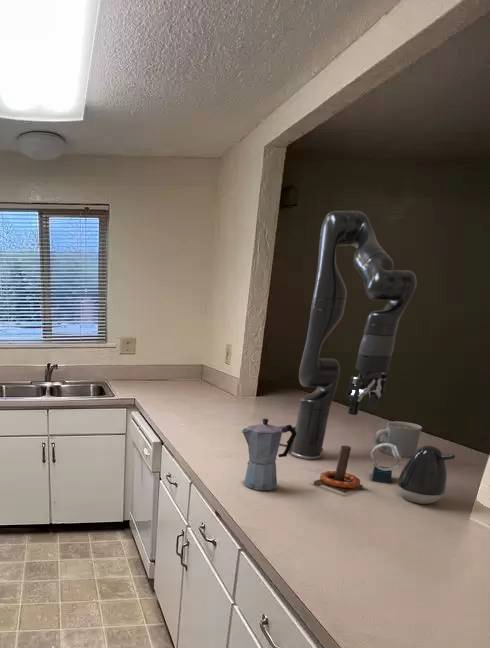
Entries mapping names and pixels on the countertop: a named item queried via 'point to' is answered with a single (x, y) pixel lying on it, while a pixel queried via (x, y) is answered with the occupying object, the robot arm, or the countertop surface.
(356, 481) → the ring
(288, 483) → the countertop surface
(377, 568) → the countertop surface
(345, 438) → the countertop surface
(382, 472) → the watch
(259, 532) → the countertop surface
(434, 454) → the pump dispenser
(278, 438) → the moka pot
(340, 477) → the stand
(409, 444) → the coffee mug
